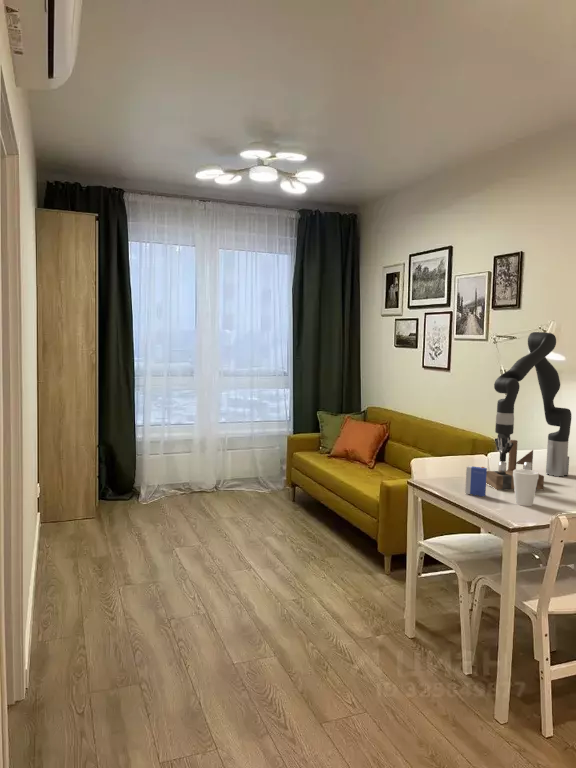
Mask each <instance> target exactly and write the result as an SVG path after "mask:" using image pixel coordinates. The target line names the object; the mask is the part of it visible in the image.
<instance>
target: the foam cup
mask: <svg viewBox="0 0 576 768" xmlns="http://www.w3.org/2000/svg"><path fill="white" fill-rule="evenodd" d="M539 474H540V473H539V472H538V471H535V470H533V469H532V470H525V469H523V468H516V470H513V478H514V490H513V491H514V500H515V504H516V505H519V506H523V507H531V506H533V504H534V500H535V495H536V491H537V490H536V486H537V481H538V478H539Z"/></svg>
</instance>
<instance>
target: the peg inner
mask: <svg viewBox="0 0 576 768" xmlns="http://www.w3.org/2000/svg"><path fill="white" fill-rule="evenodd" d="M524 469H525V470H532V471H533V463H531V462H524Z"/></svg>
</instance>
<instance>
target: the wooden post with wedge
mask: <svg viewBox="0 0 576 768" xmlns="http://www.w3.org/2000/svg"><path fill="white" fill-rule="evenodd" d="M510 442H511V443H513V446H512V448H511V450H510V452H509V453H508V466H507V469H506V471H513V470H516V469H517V465H522V466H523V467H522V469H524V462H531V463H532V464H534V463H533V461H534V460H533V459H534V449H532V450H530V451H529V452H528V453H527V454H525V455H524V456H523V457H522V458H520V459H519V460H518V461H517V459H518V456H517V455H518V440H516V439H510Z"/></svg>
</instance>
